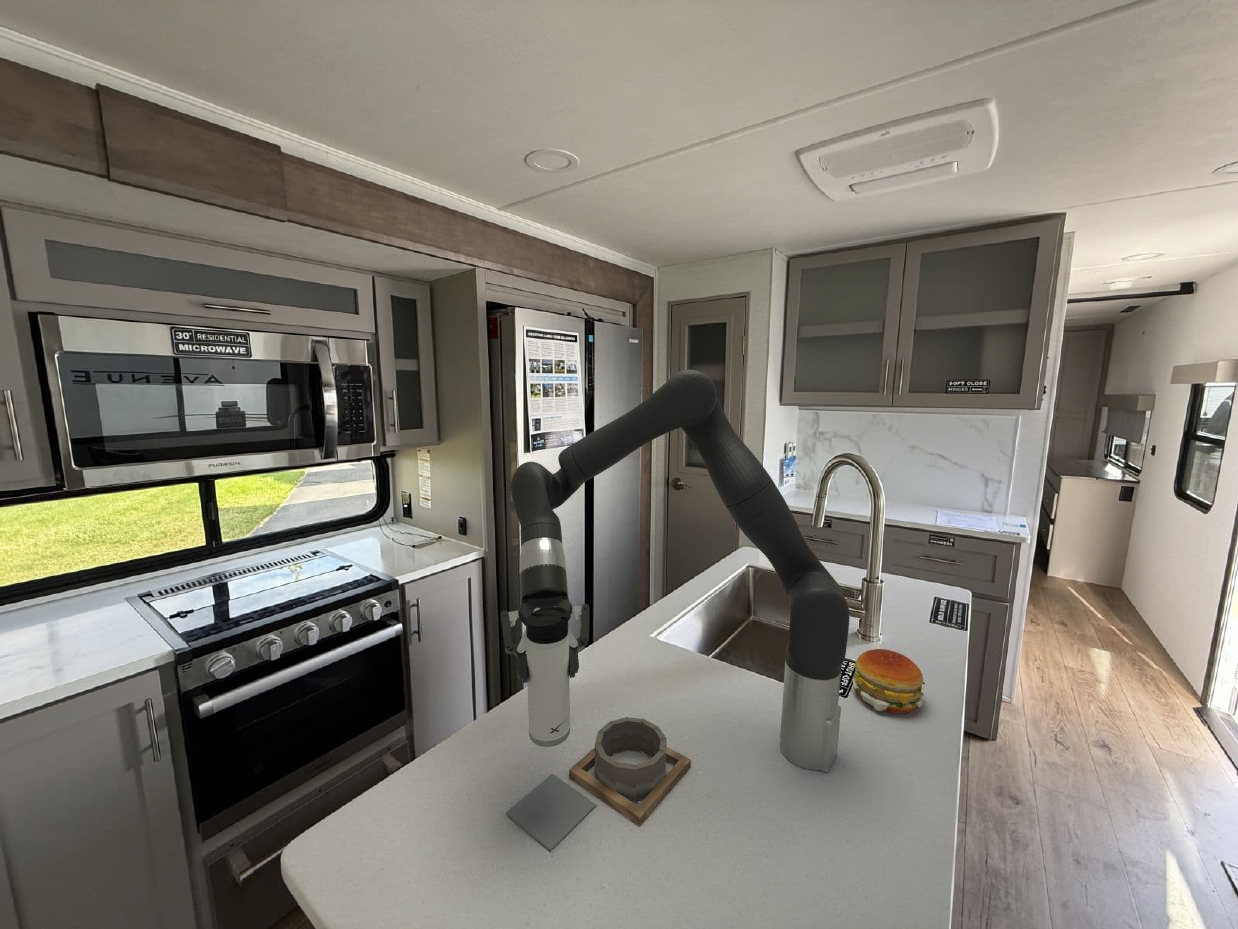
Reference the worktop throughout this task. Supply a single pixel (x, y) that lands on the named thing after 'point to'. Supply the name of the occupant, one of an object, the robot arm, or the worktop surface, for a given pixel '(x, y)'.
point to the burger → (888, 681)
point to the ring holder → (630, 768)
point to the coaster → (551, 811)
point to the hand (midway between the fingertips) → (549, 678)
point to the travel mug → (548, 676)
